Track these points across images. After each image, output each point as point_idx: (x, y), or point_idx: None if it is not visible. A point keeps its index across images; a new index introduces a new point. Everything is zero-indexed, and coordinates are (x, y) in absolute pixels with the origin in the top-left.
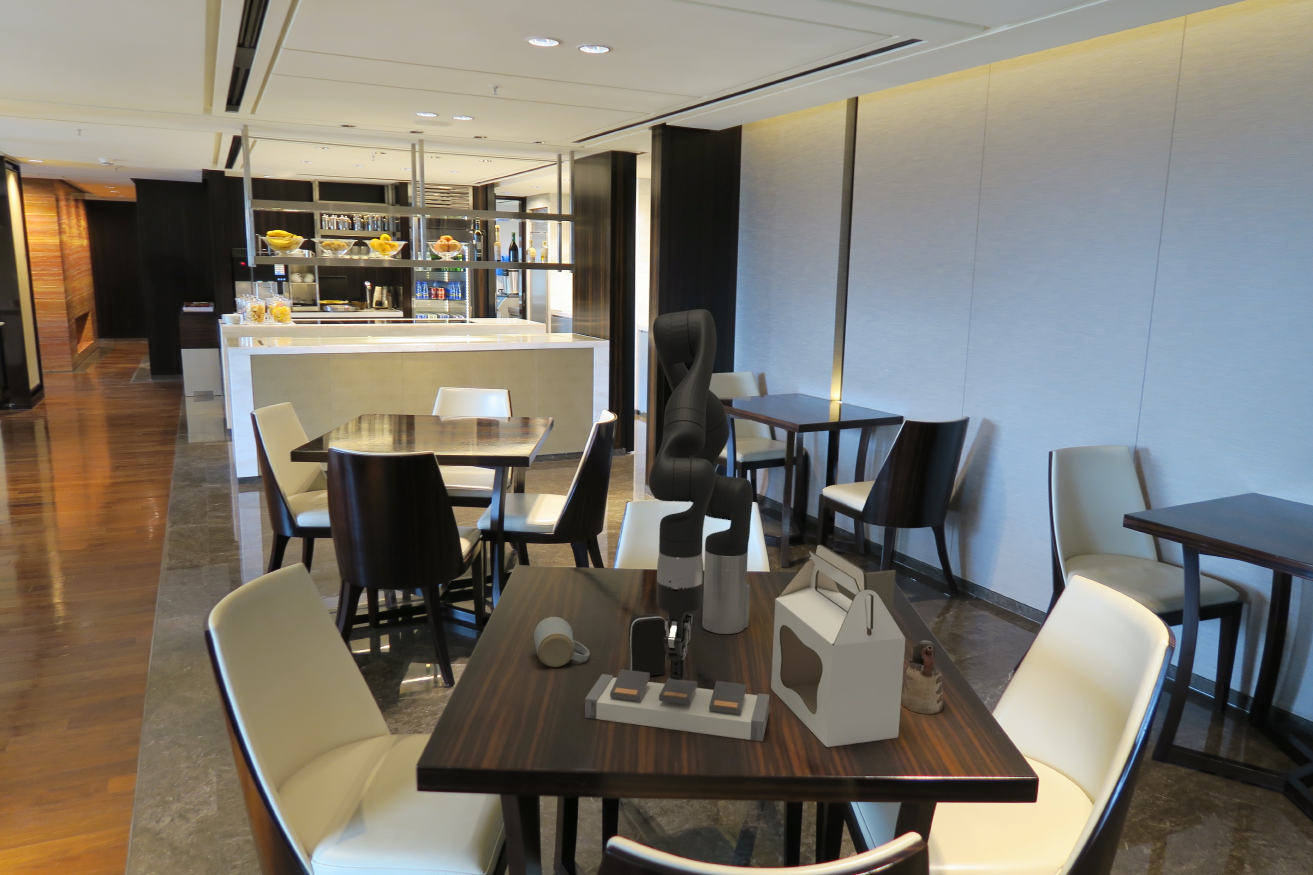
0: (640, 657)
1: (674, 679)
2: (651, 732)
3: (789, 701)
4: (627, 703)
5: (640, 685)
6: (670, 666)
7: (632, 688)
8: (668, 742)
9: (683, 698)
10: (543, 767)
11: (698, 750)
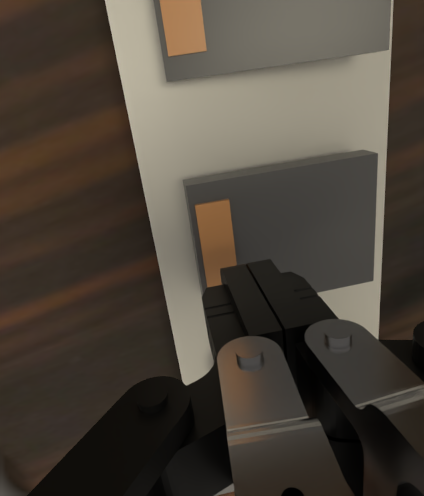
0: None
1: (222, 284)
2: (96, 165)
3: None
4: (138, 19)
5: (259, 44)
6: (235, 299)
7: (218, 8)
8: (62, 245)
9: (203, 290)
10: None
11: (67, 338)
